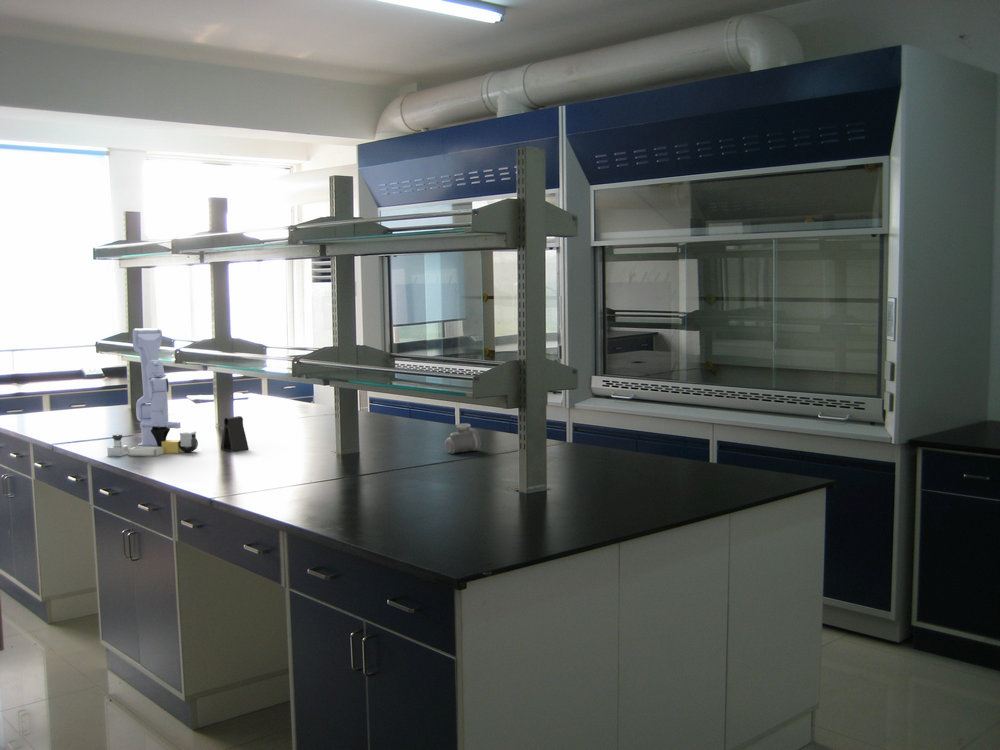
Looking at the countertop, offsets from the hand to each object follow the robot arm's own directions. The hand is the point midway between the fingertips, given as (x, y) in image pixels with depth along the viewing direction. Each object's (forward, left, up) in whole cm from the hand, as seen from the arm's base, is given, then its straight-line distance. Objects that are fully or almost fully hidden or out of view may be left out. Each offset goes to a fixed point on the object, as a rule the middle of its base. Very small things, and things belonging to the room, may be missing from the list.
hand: (161, 447), depth 325 cm
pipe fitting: (-8, +109, -2) cm, 109 cm away
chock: (0, +4, -1) cm, 5 cm away
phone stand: (-7, +25, -2) cm, 26 cm away
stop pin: (+7, -13, -1) cm, 14 cm away
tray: (+6, -3, -1) cm, 7 cm away
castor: (0, +10, -1) cm, 10 cm away
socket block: (+7, -13, -1) cm, 14 cm away
